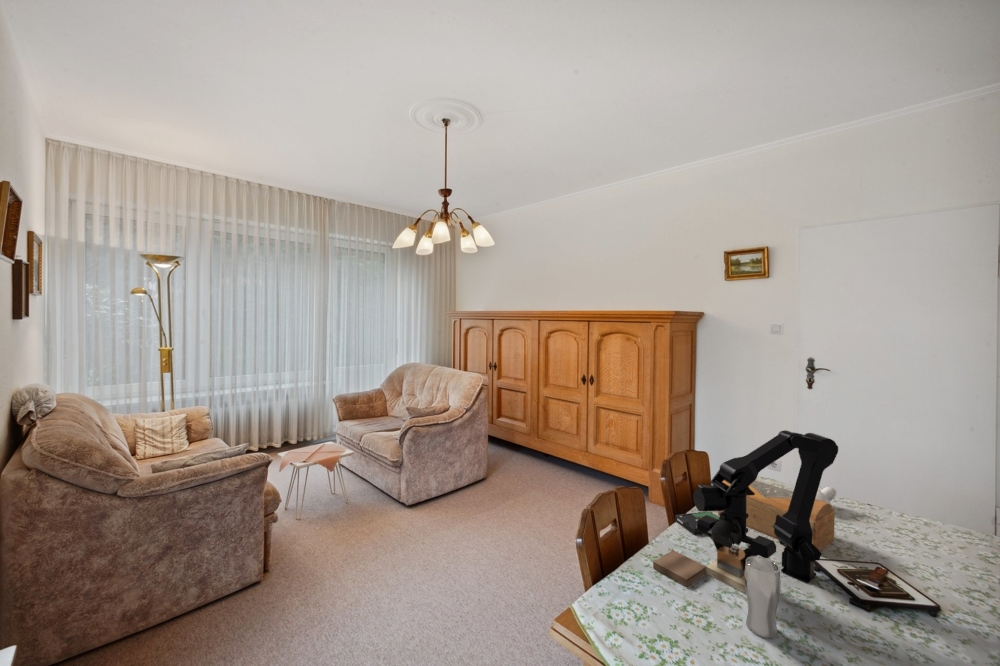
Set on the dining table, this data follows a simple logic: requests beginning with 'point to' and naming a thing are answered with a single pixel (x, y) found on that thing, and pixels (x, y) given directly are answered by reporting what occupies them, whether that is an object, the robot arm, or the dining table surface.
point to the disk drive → (692, 521)
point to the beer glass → (762, 595)
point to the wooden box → (777, 502)
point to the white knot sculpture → (826, 494)
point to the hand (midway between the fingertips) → (733, 565)
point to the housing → (731, 560)
